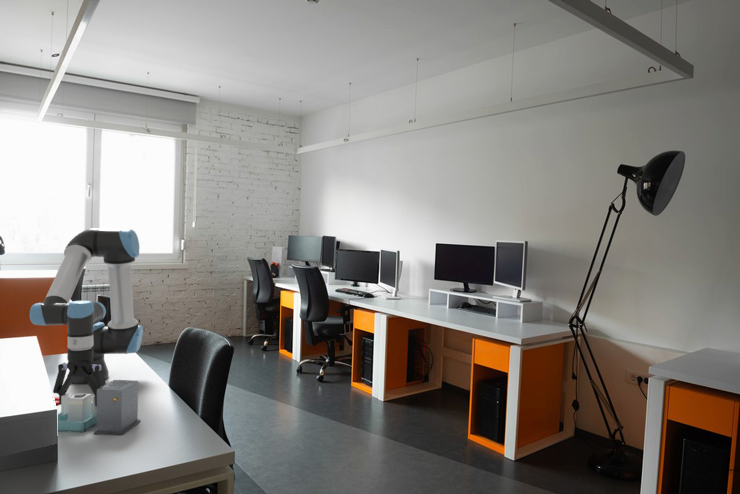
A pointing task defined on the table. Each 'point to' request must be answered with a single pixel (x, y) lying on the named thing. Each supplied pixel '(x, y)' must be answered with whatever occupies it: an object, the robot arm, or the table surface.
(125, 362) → the table surface
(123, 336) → the robot arm
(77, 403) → the white tall square block
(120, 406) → the controller unit
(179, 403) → the table surface
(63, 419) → the parts tray
